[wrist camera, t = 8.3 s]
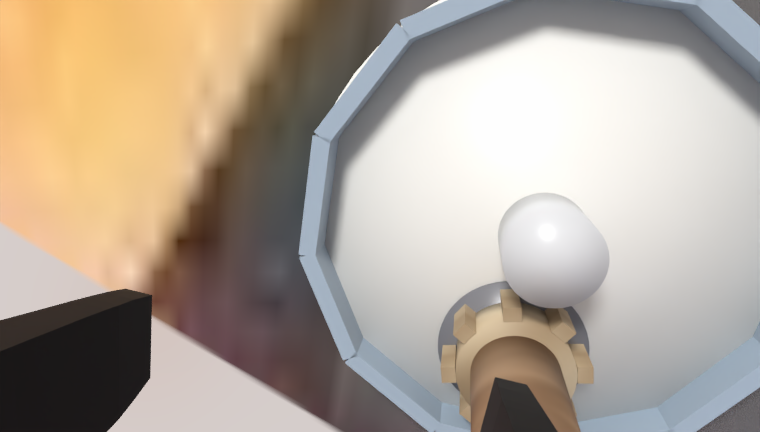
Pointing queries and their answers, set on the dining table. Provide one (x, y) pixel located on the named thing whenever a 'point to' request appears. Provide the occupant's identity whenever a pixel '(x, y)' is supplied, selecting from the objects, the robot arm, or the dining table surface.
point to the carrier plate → (580, 143)
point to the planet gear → (516, 358)
